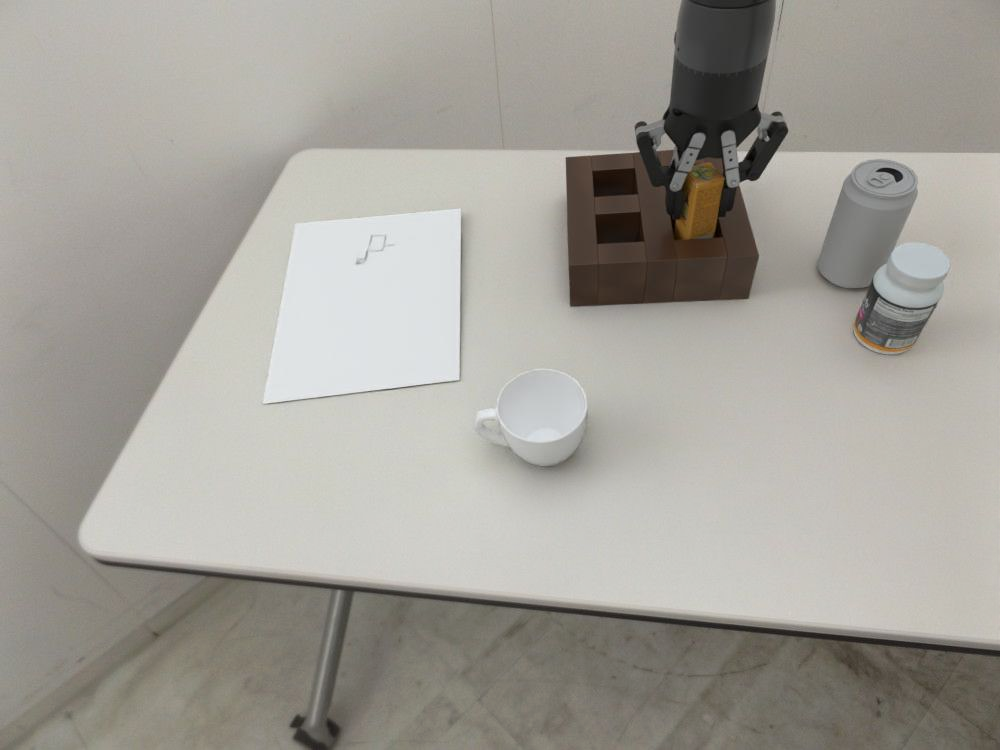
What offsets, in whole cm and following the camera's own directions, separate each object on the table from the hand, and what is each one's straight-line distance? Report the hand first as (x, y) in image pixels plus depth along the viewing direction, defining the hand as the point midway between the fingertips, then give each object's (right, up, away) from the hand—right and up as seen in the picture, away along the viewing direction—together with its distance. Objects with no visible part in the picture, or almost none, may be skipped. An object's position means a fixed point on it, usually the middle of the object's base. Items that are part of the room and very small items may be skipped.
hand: (697, 212), depth 70 cm
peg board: (-3, -2, +9) cm, 9 cm away
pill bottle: (+17, -13, -3) cm, 22 cm away
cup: (-17, -23, -6) cm, 30 cm away
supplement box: (+1, -3, +4) cm, 5 cm away
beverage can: (+17, -6, +3) cm, 18 cm away
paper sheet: (-35, -8, +8) cm, 37 cm away
